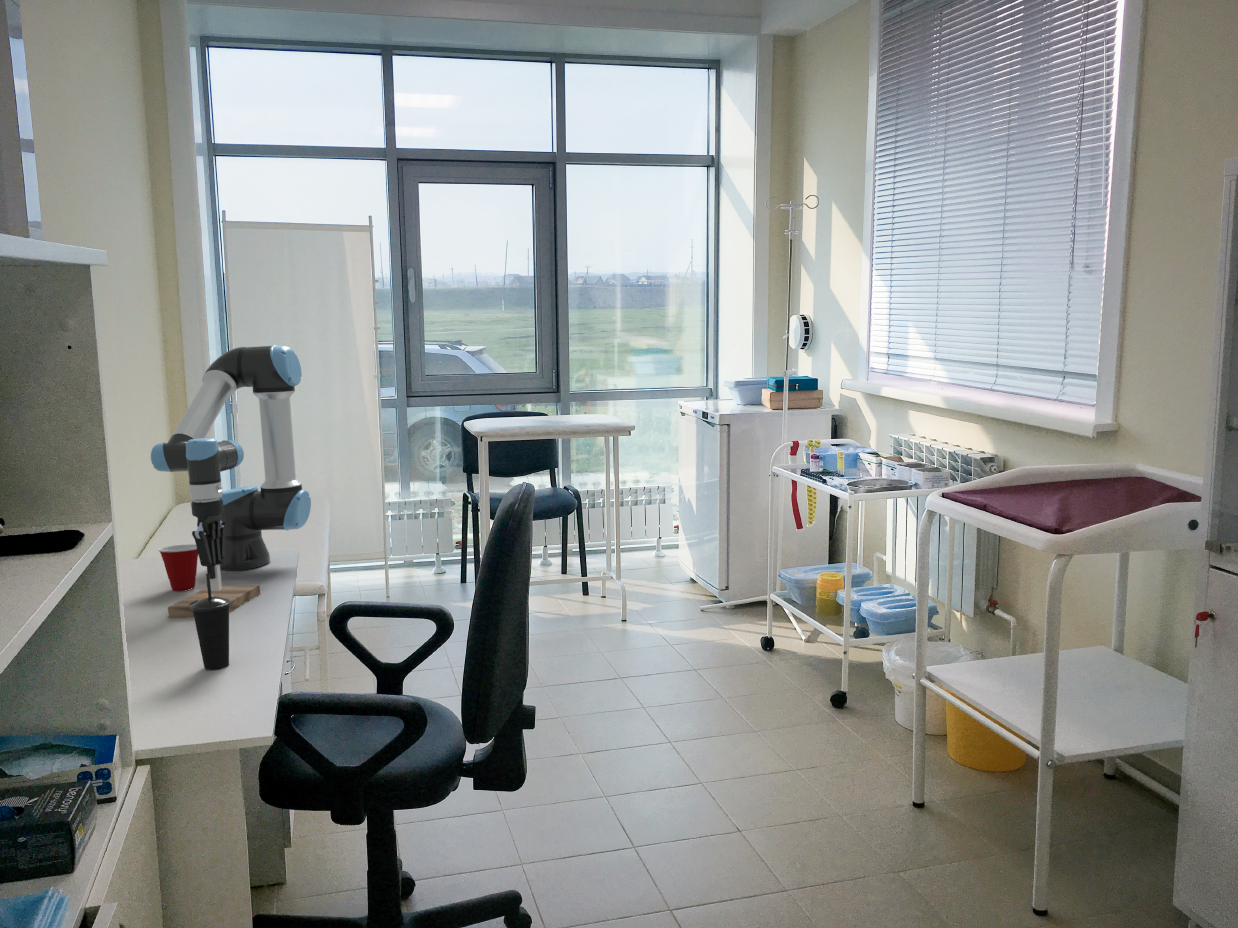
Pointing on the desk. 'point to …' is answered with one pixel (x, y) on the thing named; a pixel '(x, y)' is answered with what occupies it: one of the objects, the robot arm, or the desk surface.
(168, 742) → the desk surface
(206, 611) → the drinking cup
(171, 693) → the desk surface
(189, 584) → the plastic cup
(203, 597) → the ball
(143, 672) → the desk surface
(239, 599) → the board
